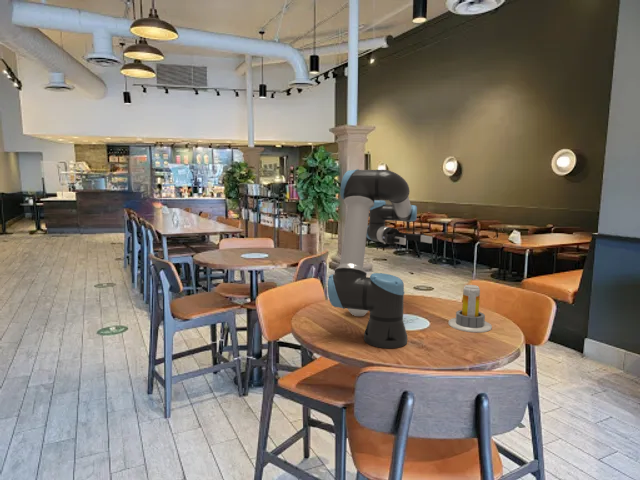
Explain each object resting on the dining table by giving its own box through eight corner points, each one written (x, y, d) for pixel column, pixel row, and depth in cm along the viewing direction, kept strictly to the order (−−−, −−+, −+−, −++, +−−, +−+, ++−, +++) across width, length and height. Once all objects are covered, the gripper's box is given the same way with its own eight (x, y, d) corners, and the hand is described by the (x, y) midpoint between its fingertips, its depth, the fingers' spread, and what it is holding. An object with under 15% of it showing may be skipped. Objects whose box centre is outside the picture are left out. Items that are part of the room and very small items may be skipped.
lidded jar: (372, 318, 175) (372, 296, 174) (346, 317, 175) (346, 295, 174) (369, 310, 185) (370, 289, 184) (345, 310, 186) (345, 289, 184)
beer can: (475, 321, 169) (477, 284, 167) (479, 326, 163) (481, 288, 161) (460, 320, 170) (462, 284, 168) (463, 325, 164) (465, 287, 162)
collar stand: (483, 335, 155) (484, 322, 155) (442, 326, 165) (442, 314, 165) (497, 324, 168) (497, 313, 167) (457, 316, 178) (458, 305, 177)
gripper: (410, 242, 199) (441, 248, 180) (365, 244, 188) (393, 251, 169) (410, 226, 198) (442, 230, 179) (365, 228, 187) (393, 233, 168)
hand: (418, 240), depth 174 cm, fingers open, 13 cm apart
